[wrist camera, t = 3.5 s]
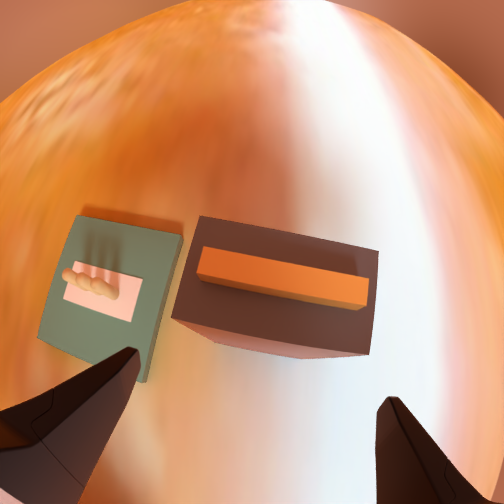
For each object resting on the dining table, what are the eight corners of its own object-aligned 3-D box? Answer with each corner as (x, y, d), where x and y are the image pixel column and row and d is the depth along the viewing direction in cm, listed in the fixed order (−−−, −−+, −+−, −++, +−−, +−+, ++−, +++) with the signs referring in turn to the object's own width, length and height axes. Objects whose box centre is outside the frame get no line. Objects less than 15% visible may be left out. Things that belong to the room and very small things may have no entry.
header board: (146, 381, 18) (124, 385, 15) (43, 339, 19) (14, 332, 15) (183, 240, 22) (171, 215, 18) (82, 219, 23) (60, 197, 19)
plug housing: (300, 359, 19) (379, 353, 7) (215, 342, 20) (163, 313, 8) (309, 312, 20) (388, 241, 8) (225, 295, 21) (195, 203, 9)
